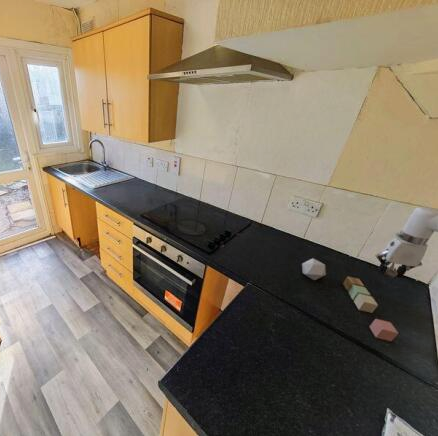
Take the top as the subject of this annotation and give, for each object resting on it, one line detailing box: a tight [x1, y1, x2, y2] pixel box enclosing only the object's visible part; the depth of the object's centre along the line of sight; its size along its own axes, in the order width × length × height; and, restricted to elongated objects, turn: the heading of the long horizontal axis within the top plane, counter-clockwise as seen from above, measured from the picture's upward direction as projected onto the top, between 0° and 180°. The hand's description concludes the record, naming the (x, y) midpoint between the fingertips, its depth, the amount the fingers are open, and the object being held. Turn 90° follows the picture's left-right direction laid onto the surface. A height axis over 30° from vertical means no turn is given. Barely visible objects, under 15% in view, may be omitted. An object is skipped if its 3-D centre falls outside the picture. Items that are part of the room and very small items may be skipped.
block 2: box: [347, 285, 371, 301], centre depth 93 cm, size 4×4×4 cm
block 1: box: [342, 276, 365, 292], centre depth 98 cm, size 4×4×4 cm
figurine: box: [383, 263, 398, 278], centre depth 95 cm, size 5×4×6 cm
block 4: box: [369, 318, 399, 342], centre depth 78 cm, size 4×4×4 cm
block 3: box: [353, 294, 379, 314], centre depth 89 cm, size 4×4×4 cm
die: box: [301, 257, 327, 281], centre depth 103 cm, size 8×9×10 cm
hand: (389, 273), depth 96 cm, fingers closed on figurine, 5 cm apart
